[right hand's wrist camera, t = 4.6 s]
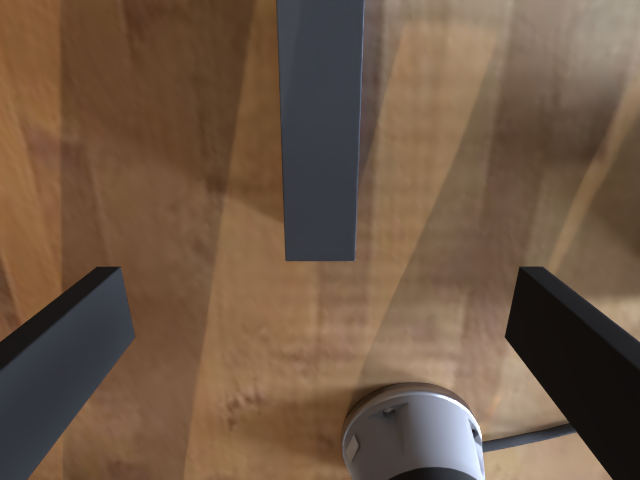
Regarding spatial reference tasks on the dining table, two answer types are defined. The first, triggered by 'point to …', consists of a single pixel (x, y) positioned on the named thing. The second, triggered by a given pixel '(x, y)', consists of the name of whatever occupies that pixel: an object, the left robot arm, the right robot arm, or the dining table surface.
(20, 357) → the right robot arm
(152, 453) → the dining table surface
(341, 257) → the post
